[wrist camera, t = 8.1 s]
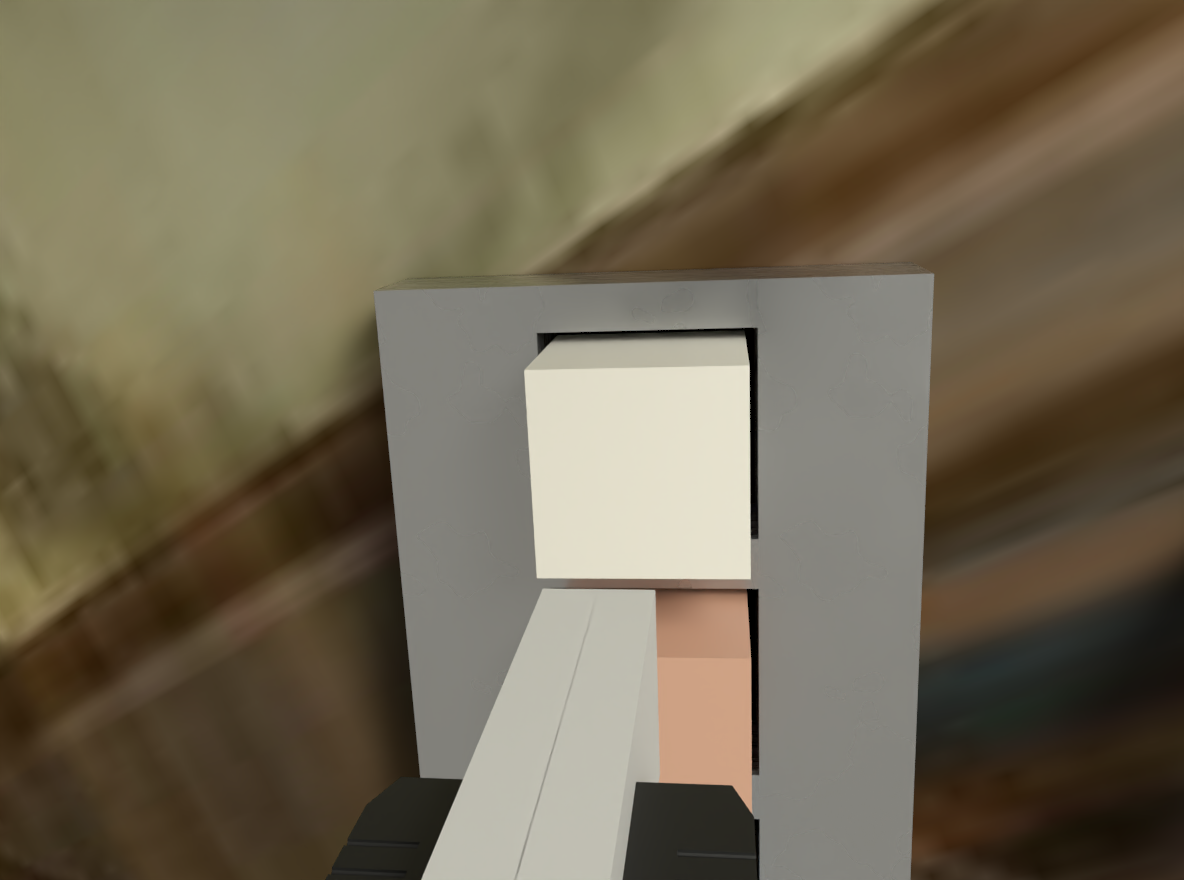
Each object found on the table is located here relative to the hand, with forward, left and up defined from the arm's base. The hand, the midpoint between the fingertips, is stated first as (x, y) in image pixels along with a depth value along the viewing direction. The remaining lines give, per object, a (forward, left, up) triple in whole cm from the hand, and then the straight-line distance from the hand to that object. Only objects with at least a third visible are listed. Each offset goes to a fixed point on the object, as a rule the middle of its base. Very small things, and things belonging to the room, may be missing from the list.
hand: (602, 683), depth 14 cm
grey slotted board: (+7, 0, -17) cm, 18 cm away
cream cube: (0, 0, -15) cm, 15 cm away
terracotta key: (+7, 0, -15) cm, 17 cm away
